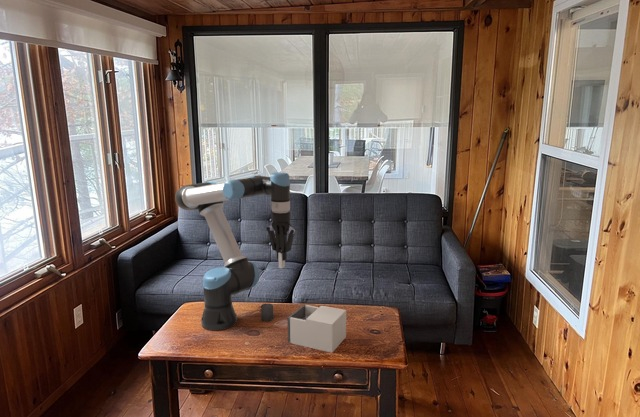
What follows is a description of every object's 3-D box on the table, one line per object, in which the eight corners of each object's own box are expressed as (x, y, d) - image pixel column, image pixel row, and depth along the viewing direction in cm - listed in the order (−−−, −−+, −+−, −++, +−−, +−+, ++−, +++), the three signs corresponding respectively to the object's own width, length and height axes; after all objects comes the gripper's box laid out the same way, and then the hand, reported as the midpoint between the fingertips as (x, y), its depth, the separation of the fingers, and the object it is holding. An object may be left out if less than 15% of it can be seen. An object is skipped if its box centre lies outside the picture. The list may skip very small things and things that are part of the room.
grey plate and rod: (286, 341, 173) (286, 317, 172) (303, 326, 186) (302, 304, 184) (328, 350, 166) (327, 326, 164) (342, 334, 178) (342, 311, 176)
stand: (258, 320, 193) (258, 307, 192) (265, 315, 198) (265, 302, 197) (269, 322, 191) (269, 309, 190) (276, 317, 196) (275, 304, 195)
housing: (290, 343, 173) (289, 315, 171) (306, 328, 185) (306, 302, 183) (332, 352, 165) (332, 324, 163) (346, 336, 178) (346, 310, 175)
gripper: (262, 211, 176) (263, 267, 180) (290, 214, 170) (291, 272, 175) (272, 208, 182) (273, 262, 187) (299, 211, 177) (300, 266, 181)
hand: (281, 267), depth 181 cm, fingers closed
